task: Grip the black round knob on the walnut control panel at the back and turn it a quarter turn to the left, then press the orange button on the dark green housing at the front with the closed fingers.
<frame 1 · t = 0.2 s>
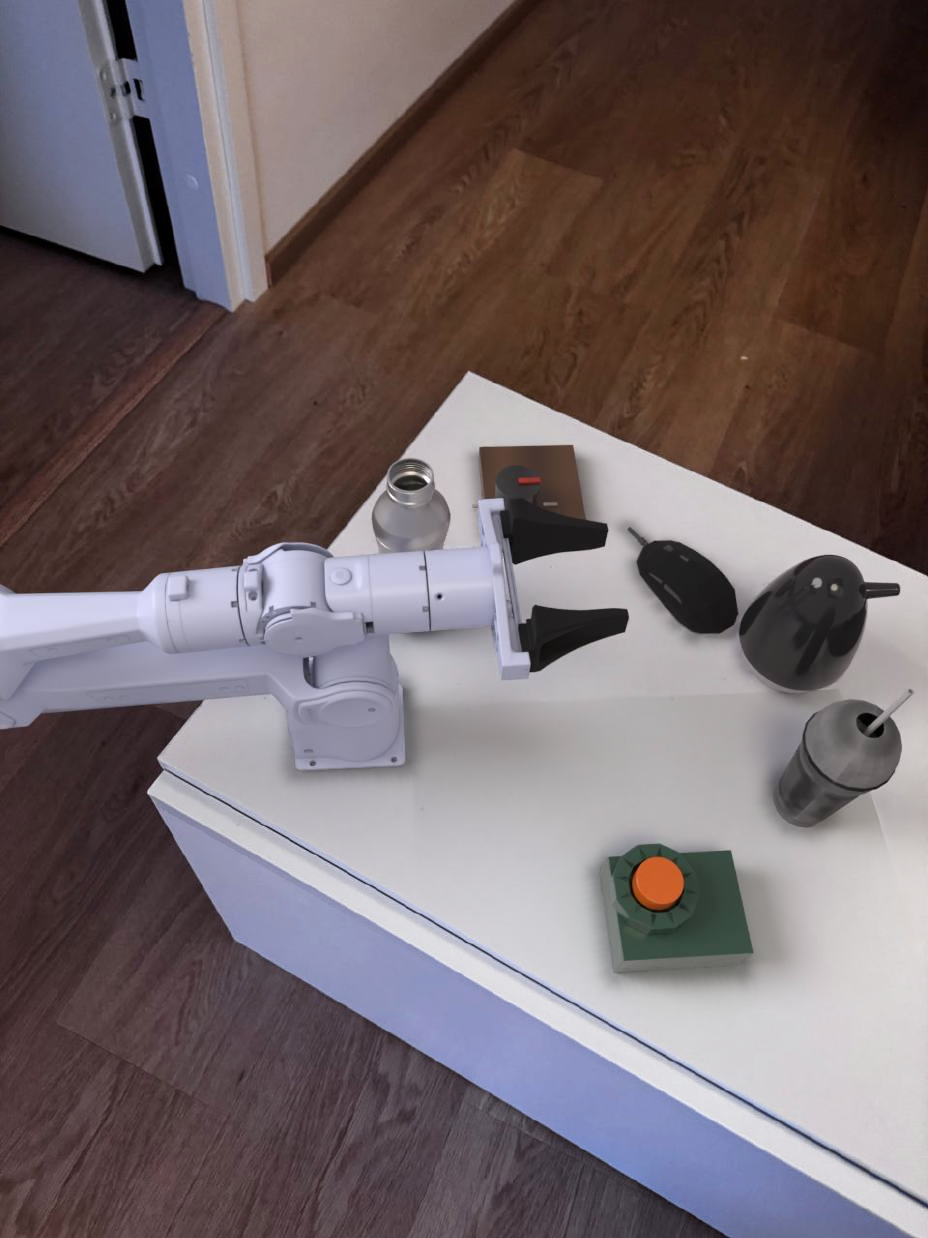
hand: (615, 576, 70), 22 cm above the table, tool horizontal, fingers open, 7 cm apart
beverage cup: (798, 803, 85), on the table
button box: (667, 918, 79), on the table
metal bottle: (410, 612, 93), on the table
start button: (657, 883, 73), point 6 cm above the table, slide at 0.1 cm
control panel: (529, 494, 101), on the table
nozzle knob: (516, 492, 96), point 4 cm above the table, hinge at 0.0°
black bird figure: (782, 662, 92), on the table
gaming mouse: (674, 581, 97), on the table
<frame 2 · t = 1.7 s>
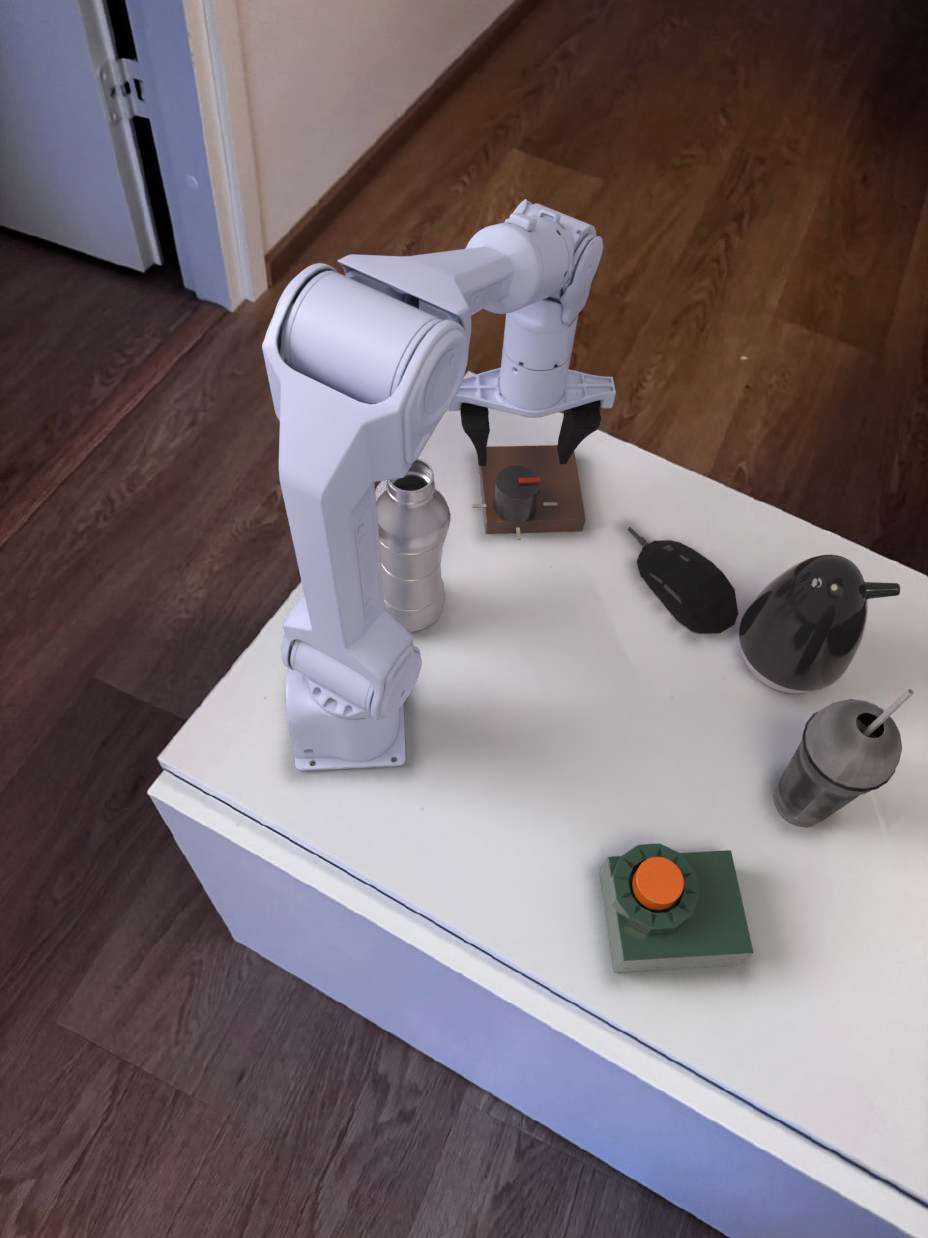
hand: (521, 457, 92), 9 cm above the table, tool pointing down, fingers open, 7 cm apart
nothing on the table moved.
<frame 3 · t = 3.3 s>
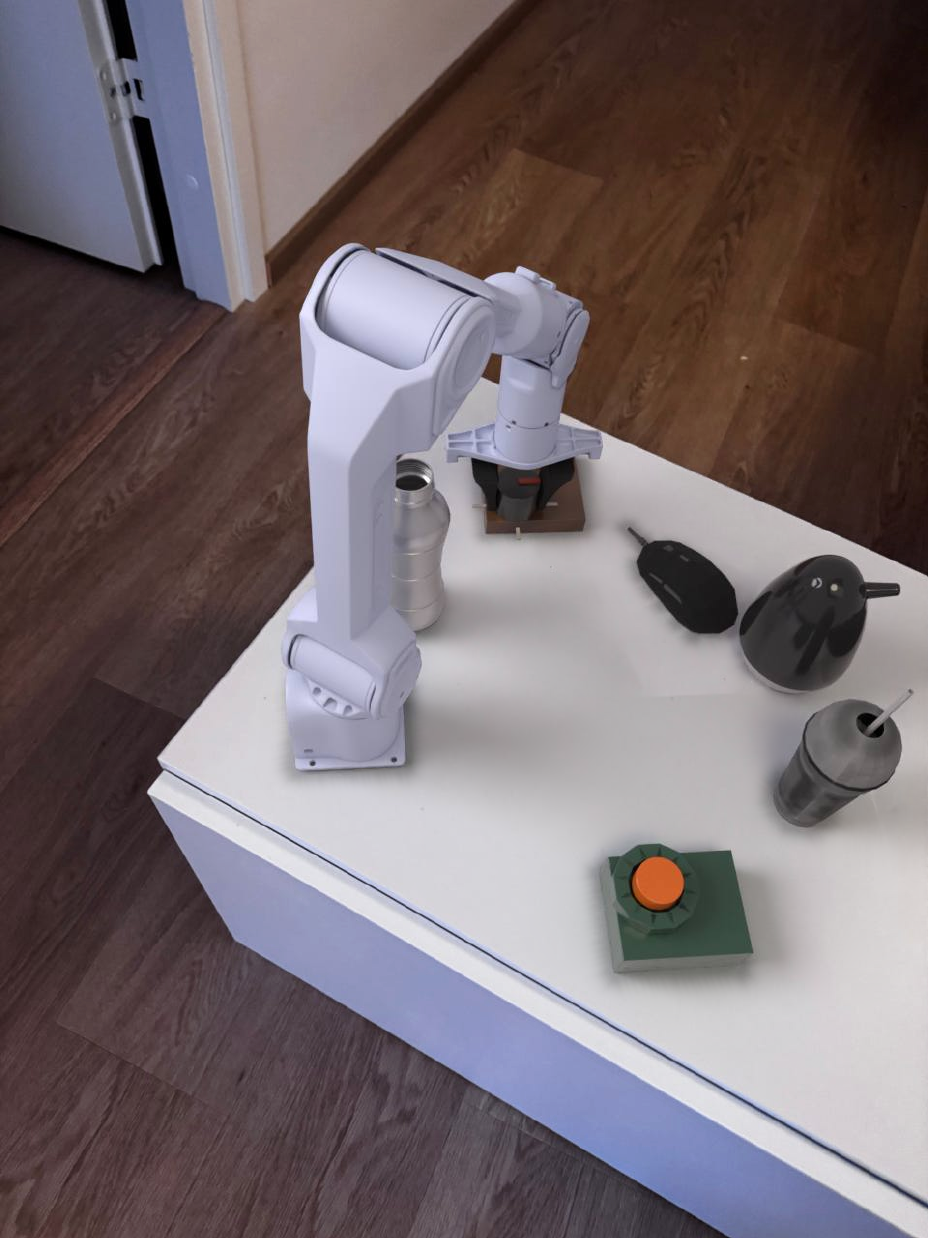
hand: (515, 502, 97), 3 cm above the table, tool pointing down, fingers closed on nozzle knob, 4 cm apart
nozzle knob: (516, 492, 96), point 4 cm above the table, hinge at 0.1°, touching gripper
everything else where it was.
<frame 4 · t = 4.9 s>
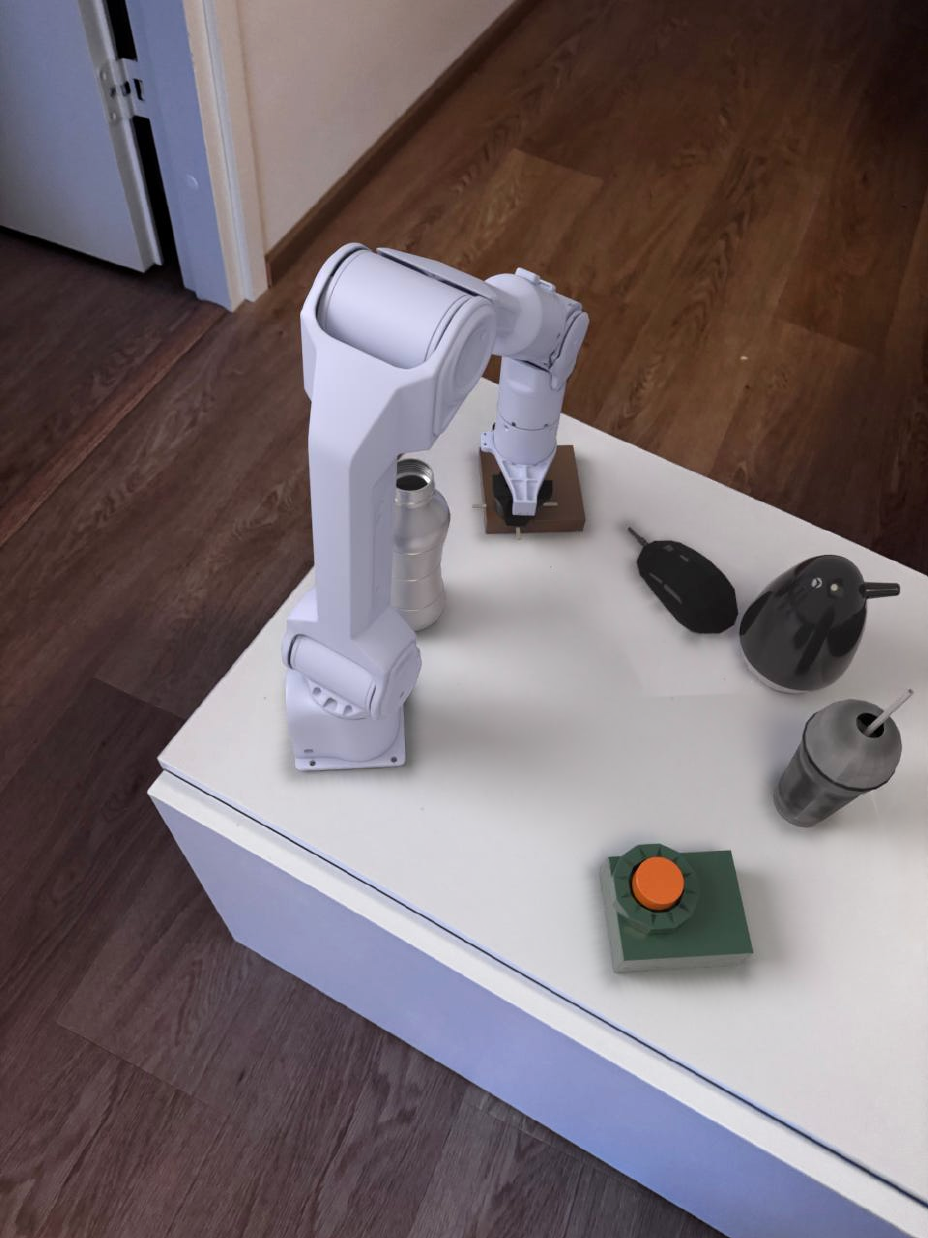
hand: (515, 503, 98), 2 cm above the table, tool pointing down, fingers closed on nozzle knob, 4 cm apart
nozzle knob: (516, 492, 96), point 4 cm above the table, hinge at 85.5°, touching gripper
everything else where it was.
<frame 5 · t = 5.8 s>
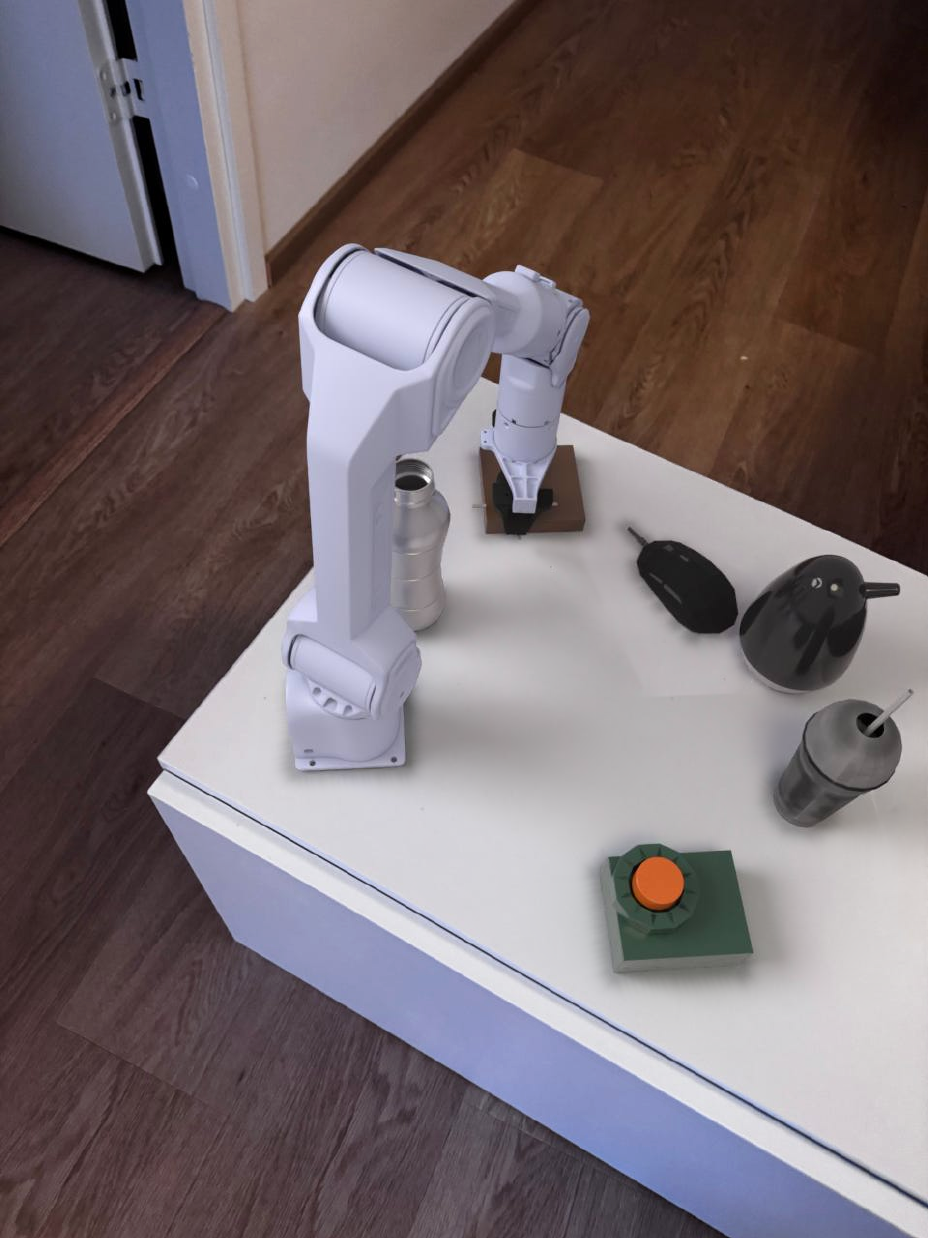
hand: (515, 501, 97), 3 cm above the table, tool pointing down, fingers open, 7 cm apart
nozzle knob: (516, 492, 96), point 4 cm above the table, hinge at 85.1°
everything else where it was.
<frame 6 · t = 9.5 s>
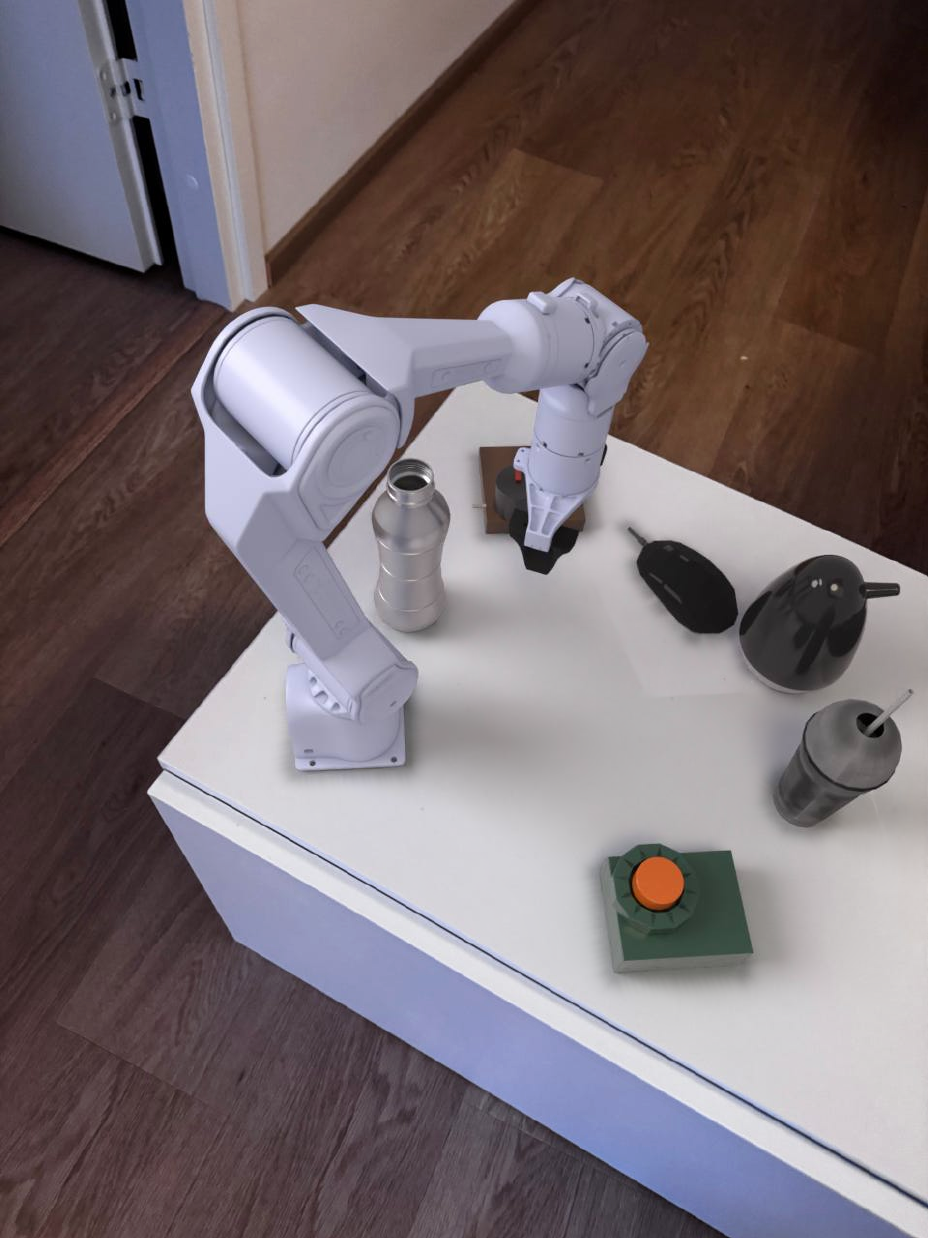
hand: (549, 536, 87), 10 cm above the table, tool pointing down, fingers open, 7 cm apart
nothing on the table moved.
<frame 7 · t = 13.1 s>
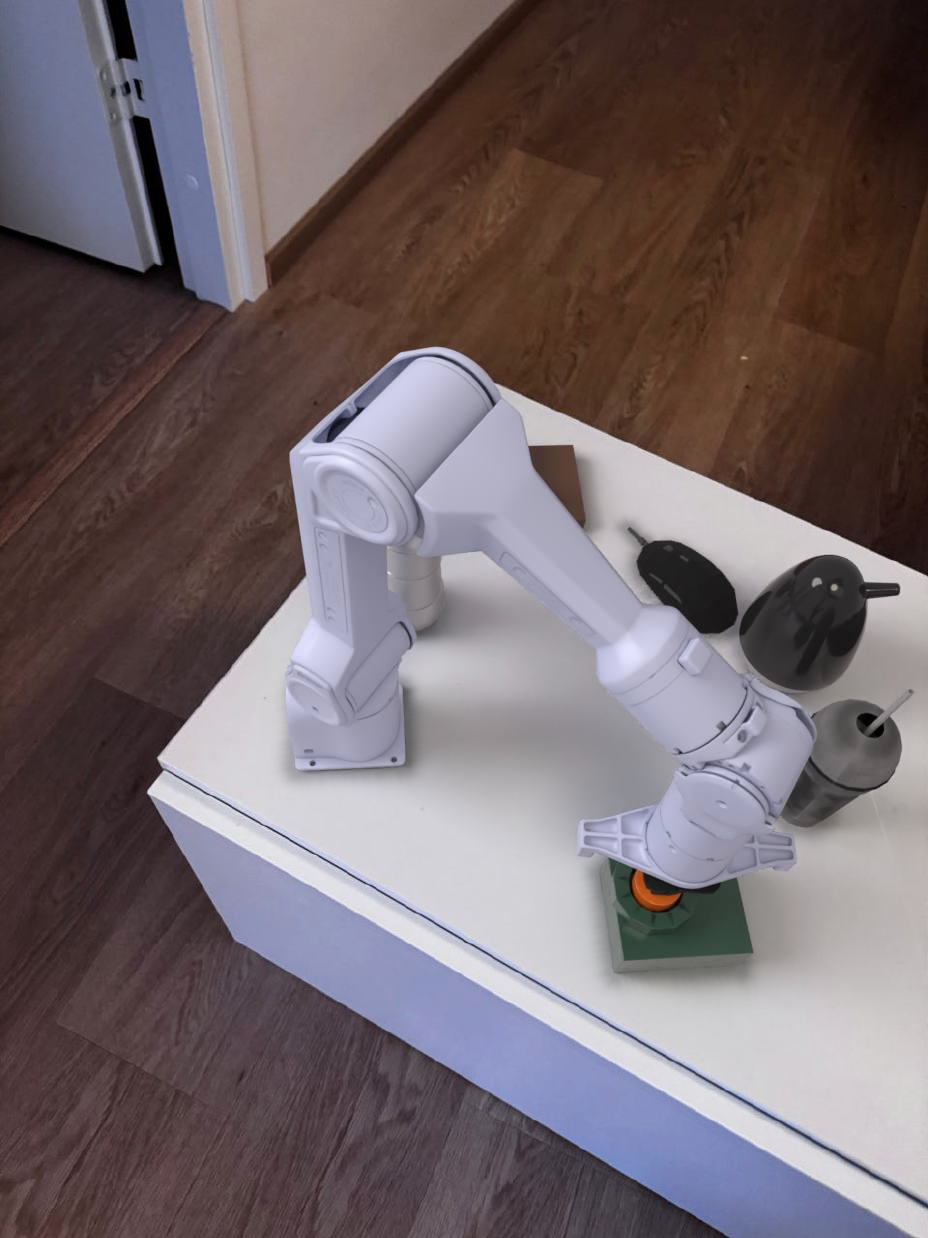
hand: (659, 882, 73), 7 cm above the table, tool pointing down, fingers closed, pressing on start button
start button: (656, 885, 74), point 6 cm above the table, slide at -0.4 cm, touching gripper
everything else where it was.
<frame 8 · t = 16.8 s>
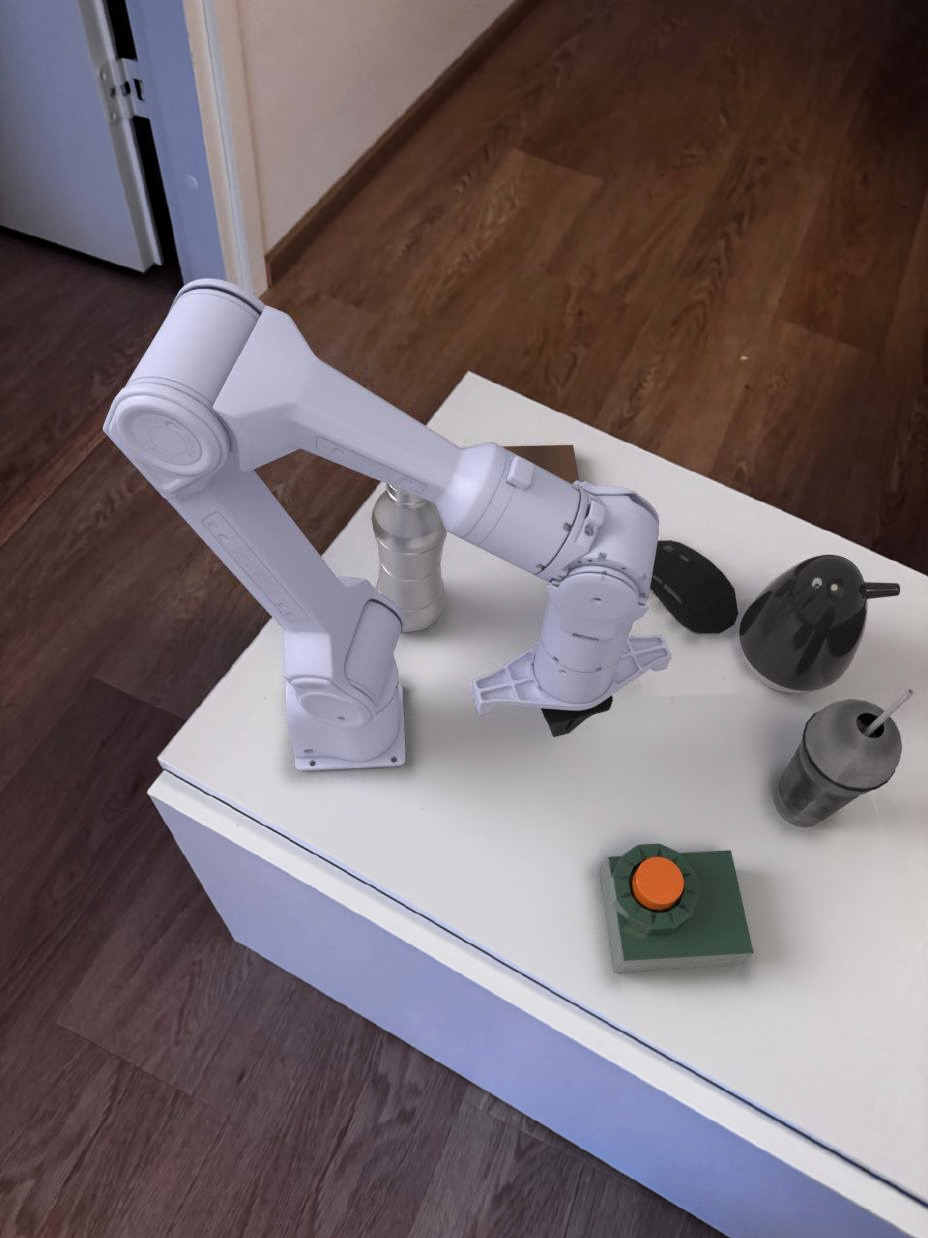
hand: (557, 724, 77), 9 cm above the table, tool pointing down, fingers closed
start button: (657, 883, 73), point 6 cm above the table, slide at 0.1 cm
everything else where it was.
at the end: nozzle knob at +85° (first picture: +0°); start button pushed in 1.2 cm at the most during the clip, back to where it started at the end; start button slide at 0.1 cm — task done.
